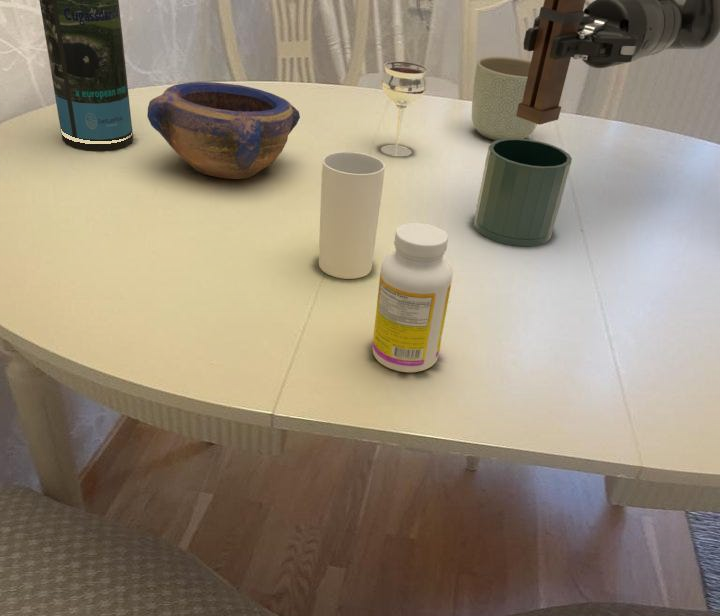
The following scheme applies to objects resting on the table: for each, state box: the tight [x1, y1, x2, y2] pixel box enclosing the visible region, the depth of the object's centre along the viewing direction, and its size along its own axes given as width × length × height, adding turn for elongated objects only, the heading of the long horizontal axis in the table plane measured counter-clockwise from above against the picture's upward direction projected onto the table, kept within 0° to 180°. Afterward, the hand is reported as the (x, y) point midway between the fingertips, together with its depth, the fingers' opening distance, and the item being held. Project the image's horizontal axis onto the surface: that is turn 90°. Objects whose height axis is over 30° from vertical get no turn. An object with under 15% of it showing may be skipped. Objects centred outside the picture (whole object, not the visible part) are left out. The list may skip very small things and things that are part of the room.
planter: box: [471, 55, 538, 141], centre depth 127 cm, size 12×12×11 cm
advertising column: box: [38, 0, 134, 153], centre depth 102 cm, size 11×11×30 cm
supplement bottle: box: [372, 222, 453, 373], centre depth 71 cm, size 7×7×13 cm
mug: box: [318, 151, 386, 280], centre depth 86 cm, size 10×7×12 cm, turn 157°
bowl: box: [146, 81, 301, 180], centre depth 105 cm, size 18×18×10 cm
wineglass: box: [380, 60, 429, 157], centre depth 116 cm, size 7×7×12 cm
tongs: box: [516, 0, 586, 126], centre depth 87 cm, size 4×4×15 cm
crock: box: [473, 138, 573, 247], centre depth 98 cm, size 10×10×10 cm
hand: (541, 44), depth 85 cm, fingers closed on tongs, 3 cm apart
